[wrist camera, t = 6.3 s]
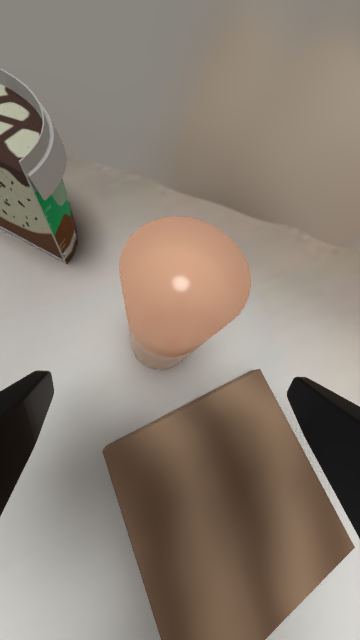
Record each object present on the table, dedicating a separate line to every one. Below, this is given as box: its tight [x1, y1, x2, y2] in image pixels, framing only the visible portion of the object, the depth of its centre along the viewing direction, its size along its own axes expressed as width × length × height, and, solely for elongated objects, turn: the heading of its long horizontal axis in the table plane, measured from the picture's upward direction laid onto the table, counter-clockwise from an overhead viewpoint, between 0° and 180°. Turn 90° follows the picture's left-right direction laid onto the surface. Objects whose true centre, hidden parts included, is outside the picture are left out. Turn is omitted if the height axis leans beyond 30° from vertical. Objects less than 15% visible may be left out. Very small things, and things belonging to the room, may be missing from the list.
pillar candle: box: [119, 216, 251, 370], centre depth 14 cm, size 5×5×12 cm
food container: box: [0, 69, 77, 264], centre depth 16 cm, size 12×6×10 cm, turn 64°
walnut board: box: [103, 369, 355, 640], centre depth 15 cm, size 14×14×2 cm
